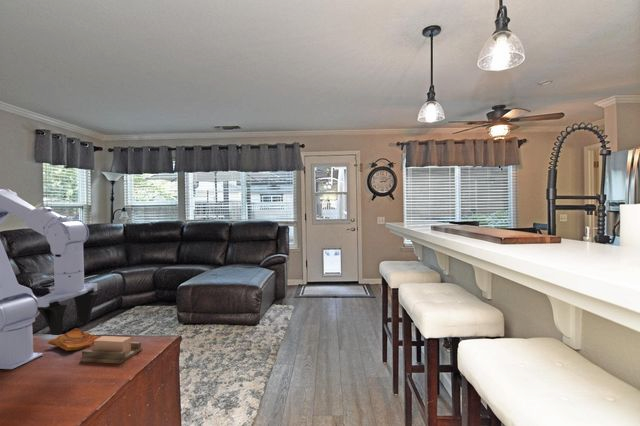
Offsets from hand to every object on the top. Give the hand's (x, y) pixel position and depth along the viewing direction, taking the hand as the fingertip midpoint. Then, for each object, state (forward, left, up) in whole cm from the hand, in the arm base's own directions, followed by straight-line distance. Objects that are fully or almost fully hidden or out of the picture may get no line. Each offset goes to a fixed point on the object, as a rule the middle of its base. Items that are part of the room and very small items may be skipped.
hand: (70, 328), depth 81 cm
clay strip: (+5, +7, -9) cm, 12 cm away
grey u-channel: (+5, +7, -9) cm, 13 cm away
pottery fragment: (-10, +12, -10) cm, 19 cm away
